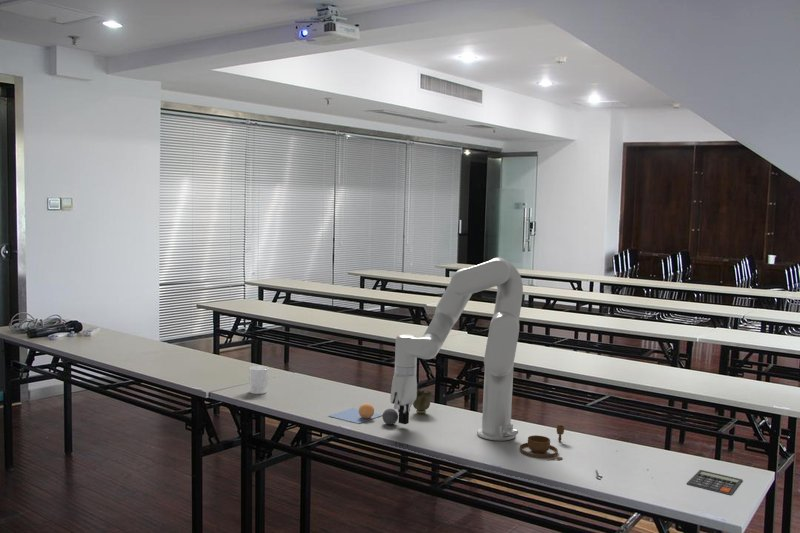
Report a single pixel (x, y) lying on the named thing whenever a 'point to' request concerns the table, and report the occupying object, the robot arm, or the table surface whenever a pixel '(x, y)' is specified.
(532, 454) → the place setting
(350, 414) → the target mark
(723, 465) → the table surface
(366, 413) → the orange ball
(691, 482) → the calculator
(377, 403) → the table surface
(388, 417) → the gray ball
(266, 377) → the white cup
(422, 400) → the brown round vessel
